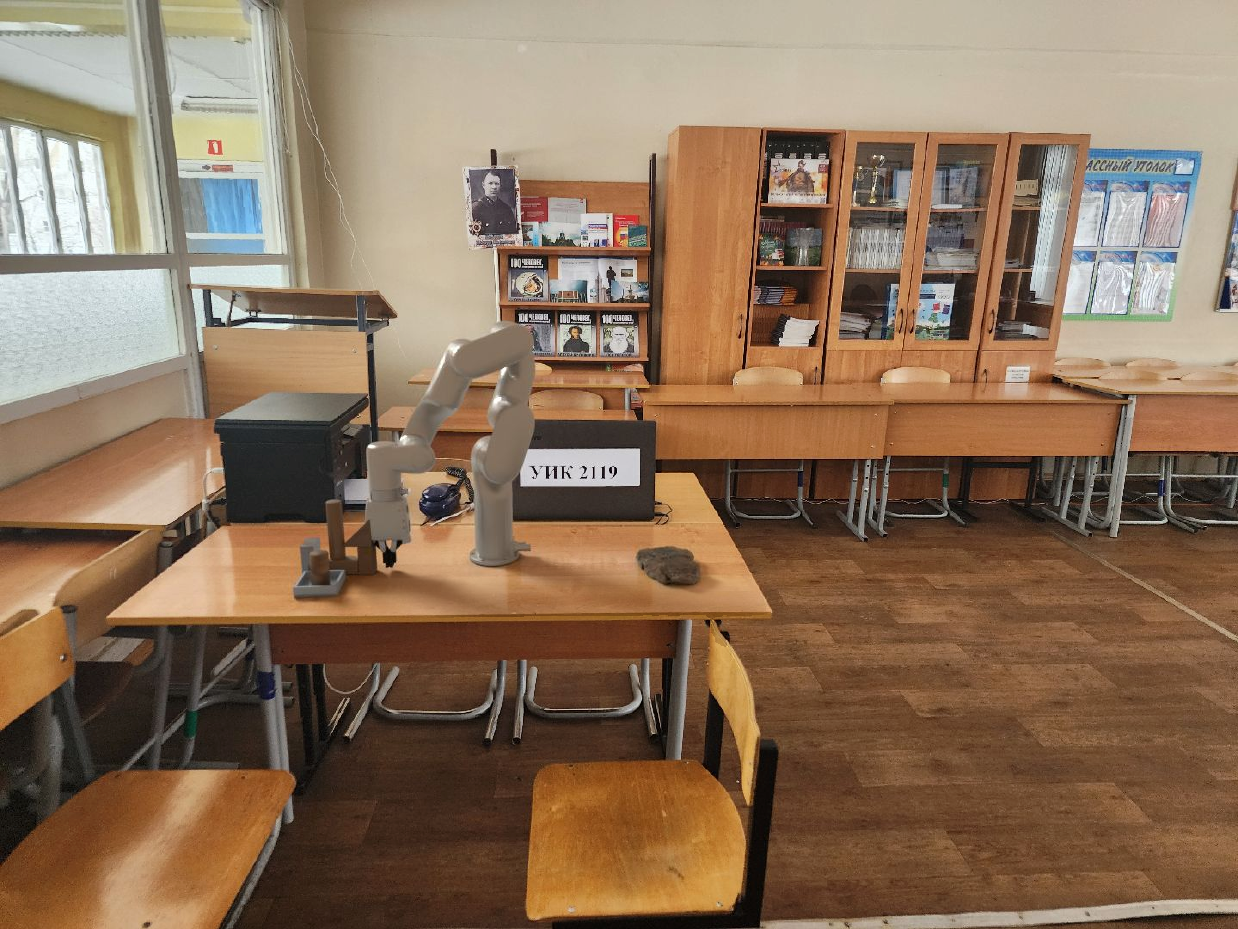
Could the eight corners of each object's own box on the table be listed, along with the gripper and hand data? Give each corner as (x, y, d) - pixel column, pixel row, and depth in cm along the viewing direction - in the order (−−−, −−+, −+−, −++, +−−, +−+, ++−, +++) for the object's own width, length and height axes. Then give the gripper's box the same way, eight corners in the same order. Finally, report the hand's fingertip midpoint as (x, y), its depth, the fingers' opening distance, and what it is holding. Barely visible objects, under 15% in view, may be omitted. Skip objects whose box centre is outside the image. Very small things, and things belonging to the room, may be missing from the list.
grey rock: (711, 588, 177) (686, 555, 196) (712, 569, 176) (686, 538, 195) (654, 594, 175) (634, 560, 193) (654, 574, 173) (634, 542, 192)
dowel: (331, 581, 174) (329, 549, 172) (328, 589, 170) (326, 556, 168) (313, 582, 173) (311, 550, 171) (310, 590, 169) (307, 557, 167)
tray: (345, 579, 177) (345, 569, 176) (336, 596, 168) (336, 586, 167) (305, 580, 175) (304, 570, 175) (293, 597, 167) (292, 587, 166)
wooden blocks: (373, 575, 179) (368, 504, 175) (328, 575, 179) (322, 503, 174) (377, 569, 183) (373, 499, 178) (333, 569, 182) (327, 498, 178)
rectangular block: (322, 568, 183) (319, 537, 181) (316, 578, 177) (313, 546, 175) (309, 568, 182) (306, 537, 180) (302, 578, 177) (299, 546, 175)
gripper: (420, 488, 182) (423, 558, 186) (356, 489, 180) (361, 560, 184) (416, 497, 174) (419, 570, 179) (349, 499, 172) (355, 572, 177)
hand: (390, 565), depth 182 cm, fingers closed
